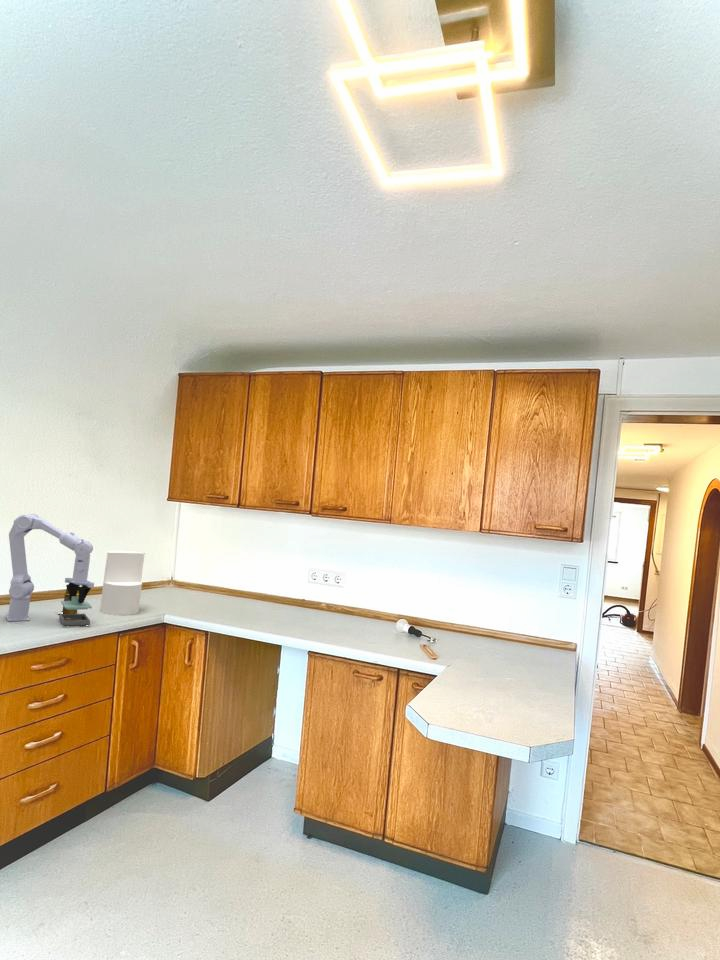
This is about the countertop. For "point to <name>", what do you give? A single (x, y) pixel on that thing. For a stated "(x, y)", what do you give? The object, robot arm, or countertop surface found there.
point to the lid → (75, 604)
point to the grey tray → (74, 619)
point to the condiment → (67, 598)
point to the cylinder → (122, 582)
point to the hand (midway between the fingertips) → (76, 601)
